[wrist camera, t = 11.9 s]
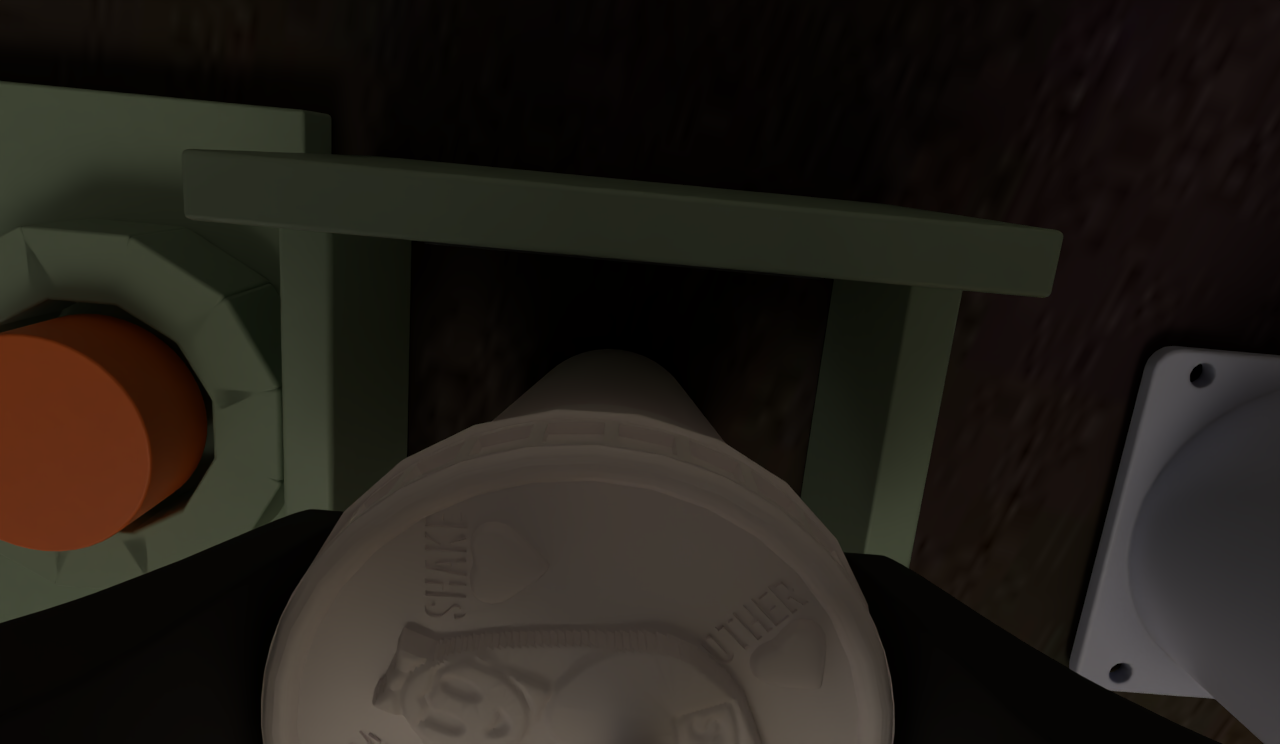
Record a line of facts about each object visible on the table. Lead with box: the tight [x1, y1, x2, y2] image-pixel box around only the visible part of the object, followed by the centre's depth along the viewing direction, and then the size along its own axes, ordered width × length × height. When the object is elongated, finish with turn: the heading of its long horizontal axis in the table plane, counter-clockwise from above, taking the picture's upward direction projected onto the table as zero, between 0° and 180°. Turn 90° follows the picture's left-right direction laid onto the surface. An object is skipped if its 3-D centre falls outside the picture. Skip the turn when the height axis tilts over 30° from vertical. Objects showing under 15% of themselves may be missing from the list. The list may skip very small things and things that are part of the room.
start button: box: [0, 314, 207, 551], centre depth 13 cm, size 4×4×2 cm
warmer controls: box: [0, 81, 331, 623], centre depth 15 cm, size 9×11×3 cm
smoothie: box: [261, 349, 895, 744], centre depth 10 cm, size 6×6×14 cm
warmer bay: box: [182, 149, 1063, 568], centre depth 14 cm, size 10×10×7 cm
